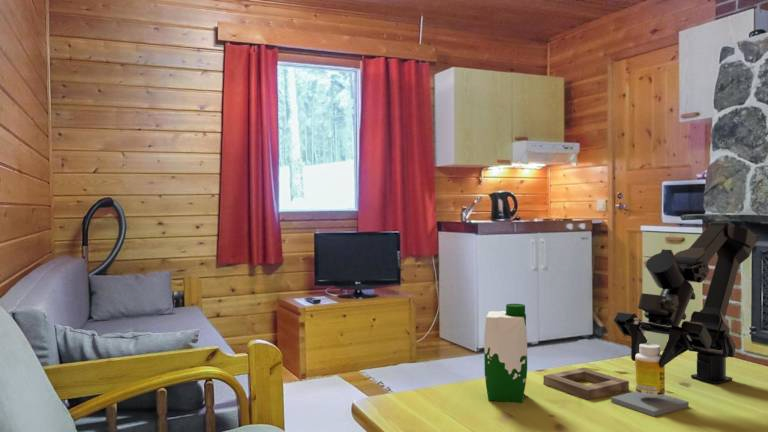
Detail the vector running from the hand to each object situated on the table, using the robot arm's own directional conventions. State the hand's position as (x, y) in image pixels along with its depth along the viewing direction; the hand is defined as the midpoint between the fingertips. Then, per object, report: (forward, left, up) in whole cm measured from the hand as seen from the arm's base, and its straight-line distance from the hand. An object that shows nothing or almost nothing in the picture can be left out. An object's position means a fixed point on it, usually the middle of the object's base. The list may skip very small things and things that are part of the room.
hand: (646, 362), depth 121 cm
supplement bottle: (-1, 0, -7) cm, 7 cm away
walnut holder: (+1, -15, -9) cm, 18 cm away
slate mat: (-1, 0, -9) cm, 9 cm away
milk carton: (+21, -19, -9) cm, 30 cm away
